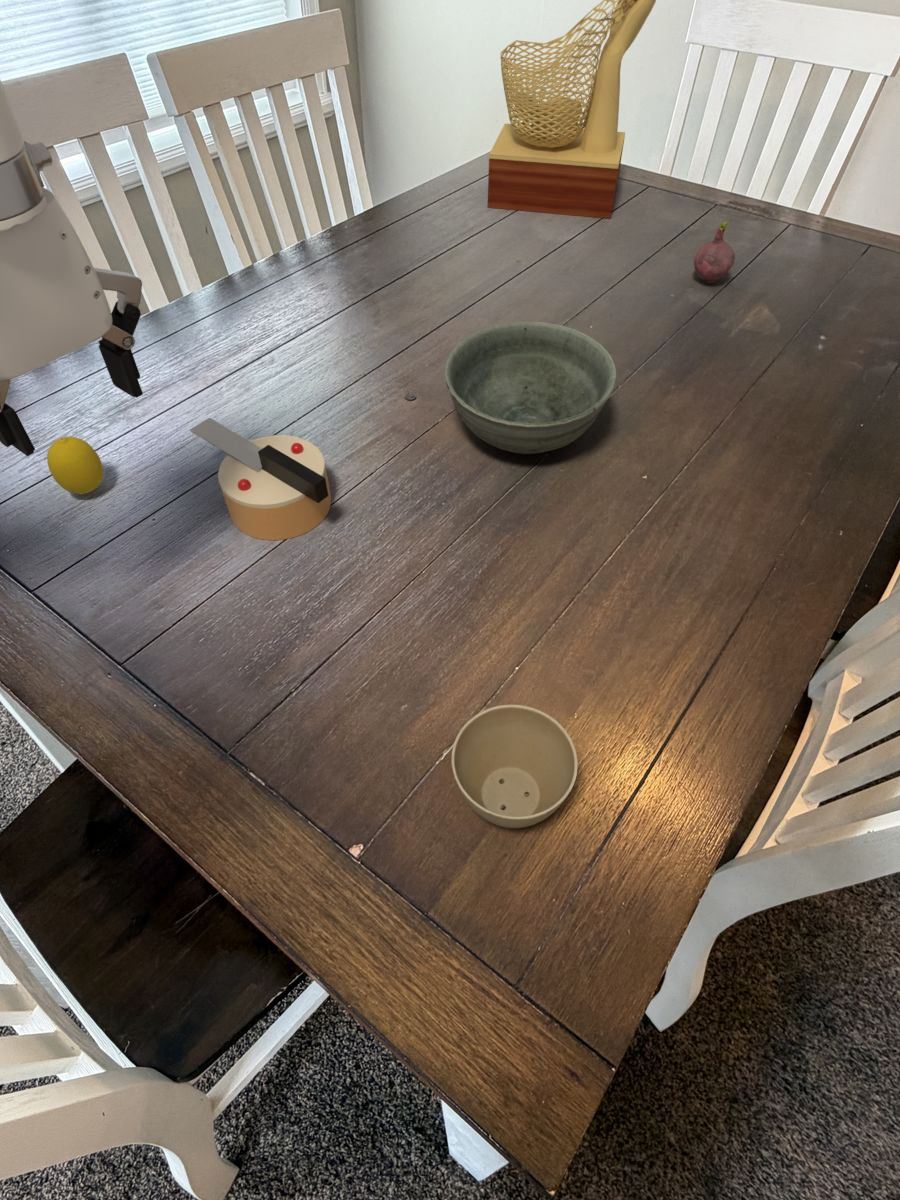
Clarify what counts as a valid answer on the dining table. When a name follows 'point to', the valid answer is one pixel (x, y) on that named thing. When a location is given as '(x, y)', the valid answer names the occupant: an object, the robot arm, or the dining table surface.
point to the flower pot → (514, 765)
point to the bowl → (529, 384)
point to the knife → (264, 459)
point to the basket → (565, 121)
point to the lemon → (75, 465)
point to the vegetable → (714, 258)
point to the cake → (273, 493)
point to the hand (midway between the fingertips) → (77, 417)
